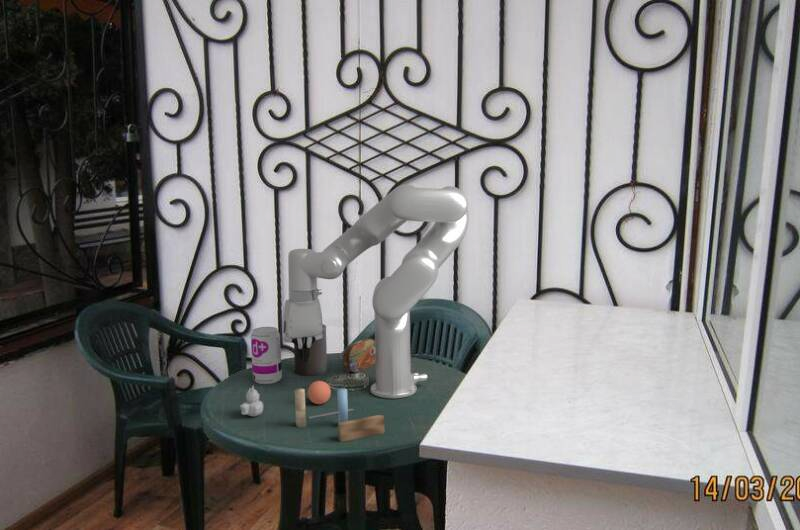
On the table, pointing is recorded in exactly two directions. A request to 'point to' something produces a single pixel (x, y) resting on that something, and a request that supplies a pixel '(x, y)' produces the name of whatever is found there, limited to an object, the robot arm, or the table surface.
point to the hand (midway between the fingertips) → (303, 361)
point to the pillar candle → (313, 358)
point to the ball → (319, 392)
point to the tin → (359, 355)
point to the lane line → (327, 414)
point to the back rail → (361, 428)
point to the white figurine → (252, 403)
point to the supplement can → (266, 355)
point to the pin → (342, 405)
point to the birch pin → (300, 408)
